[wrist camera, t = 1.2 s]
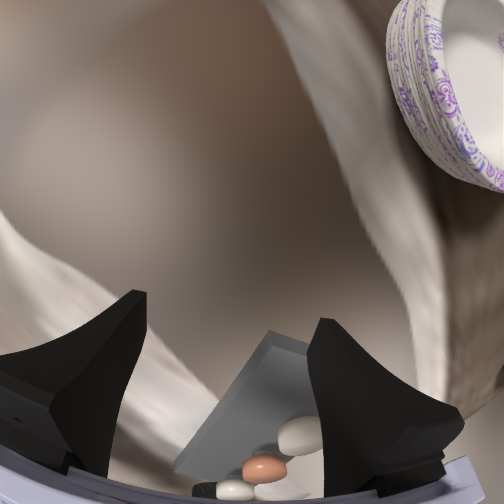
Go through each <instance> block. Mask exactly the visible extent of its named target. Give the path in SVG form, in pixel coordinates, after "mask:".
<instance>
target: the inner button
mask: <svg viewBox="0 0 504 504" xmlns="http://www.w3.org/2000/svg"><path fill="white" fill-rule="evenodd" d="M254 496H255V493H254V484H253V483H250V482H247V481H245V480H244V479H243V476H241V475H229V476H226V477H225V478H224V481H221V482H219V483H217V484H216V497H217V498H218V499H220V500H234V501H247V500H250V499H252V498H254Z"/></svg>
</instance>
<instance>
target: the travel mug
mask: <svg viewBox="0 0 504 504" xmlns="http://www.w3.org/2000/svg"><path fill="white" fill-rule="evenodd" d="M216 484H217V483H215V482H208V483H200V484H197V485H195V486H194V487H193V490H192V497H199V498H208V499H218V498H217V497H216ZM219 500H220V499H219Z"/></svg>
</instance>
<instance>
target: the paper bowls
mask: <svg viewBox="0 0 504 504" xmlns="http://www.w3.org/2000/svg"><path fill="white" fill-rule="evenodd" d="M386 40H387V41H386V57H387V67H388V72H389V76H390V80H391V84H392V89H393V92H394V95H395V98H396V101H397V104H398V106H399V108H400V111H401V113H402V115H403V118H404V120H405V122H406V124H407V126H408V128H409V130H410V132H411V134H412V136H413V137H414V139H415V140H416V142H417V143H418V145H419V146H420V147H421V148H422V150H423V151H424V152H425V153H426V155H427V156H428V157H429V158H430V159H431V160H432V161H433V162H434V163H435V164H436V165H437V166H439V167H440V168H441V169H443V170H444V171H445V172H447V173H448V174H450V175H451V176H453V177H455V178H457V179H460V180H463V181H466V182H469V183H472V184H475V185H478V186H482V187H484V188H488V189H490V190H492V191H496V192H500V193H503V194H504V0H402V1H401V2H400V3H399V4H398V5H397V7H396V8H395V10H394V11H393V14H392V16H391V18H390V21H389V24H388V28H387V35H386Z"/></svg>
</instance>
